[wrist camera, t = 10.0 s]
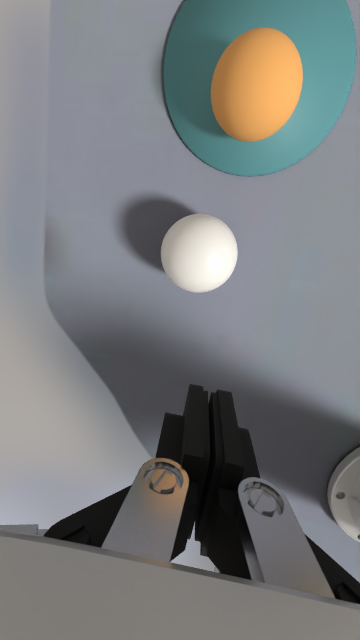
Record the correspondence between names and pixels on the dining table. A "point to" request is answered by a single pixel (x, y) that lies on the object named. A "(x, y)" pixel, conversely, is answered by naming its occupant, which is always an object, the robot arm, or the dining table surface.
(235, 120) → the orange ball
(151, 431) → the dining table surface
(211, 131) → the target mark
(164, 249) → the white ball
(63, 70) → the dining table surface
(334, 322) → the dining table surface
